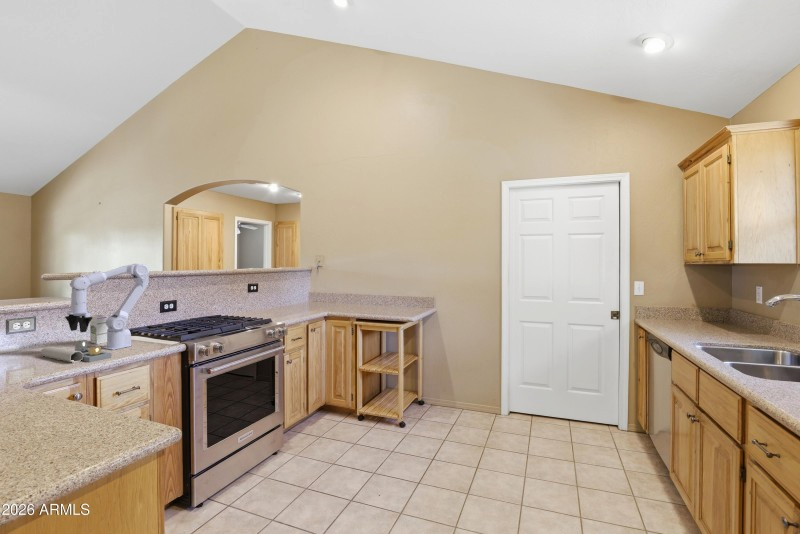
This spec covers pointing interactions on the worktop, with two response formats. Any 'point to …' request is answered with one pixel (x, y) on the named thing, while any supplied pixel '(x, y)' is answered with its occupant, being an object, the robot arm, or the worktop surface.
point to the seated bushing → (94, 351)
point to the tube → (62, 354)
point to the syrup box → (98, 329)
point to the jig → (97, 357)
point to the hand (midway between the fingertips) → (78, 331)
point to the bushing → (81, 346)
